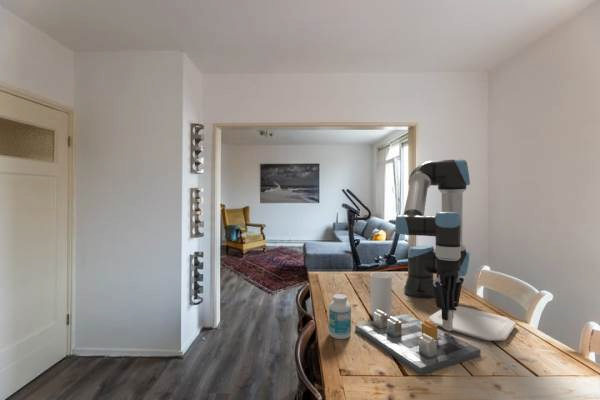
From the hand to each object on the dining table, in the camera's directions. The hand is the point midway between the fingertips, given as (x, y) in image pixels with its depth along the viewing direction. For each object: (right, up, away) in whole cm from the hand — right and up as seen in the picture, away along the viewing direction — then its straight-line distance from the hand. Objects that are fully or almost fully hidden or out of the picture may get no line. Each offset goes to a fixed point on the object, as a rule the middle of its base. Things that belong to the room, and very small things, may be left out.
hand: (447, 328), depth 100 cm
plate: (+15, -4, +12) cm, 19 cm away
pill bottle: (-35, -4, +3) cm, 36 cm away
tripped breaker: (-7, -1, -3) cm, 8 cm away
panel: (-12, -4, -2) cm, 13 cm away
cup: (-16, -4, +22) cm, 27 cm away
